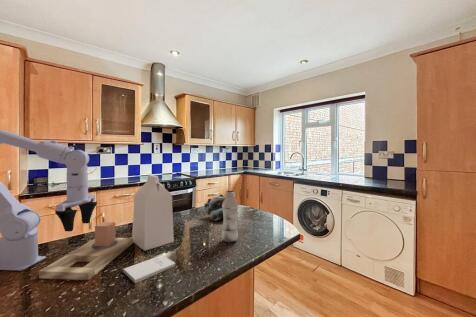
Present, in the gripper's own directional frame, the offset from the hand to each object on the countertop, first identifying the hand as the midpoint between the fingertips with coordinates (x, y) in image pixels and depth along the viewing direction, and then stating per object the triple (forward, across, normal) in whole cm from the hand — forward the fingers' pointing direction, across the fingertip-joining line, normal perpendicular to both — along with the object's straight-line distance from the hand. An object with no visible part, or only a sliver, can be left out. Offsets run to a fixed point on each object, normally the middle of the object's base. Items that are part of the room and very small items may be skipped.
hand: (77, 226), depth 74 cm
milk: (+10, +14, -20) cm, 26 cm away
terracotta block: (+8, +5, -6) cm, 11 cm away
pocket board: (+10, -1, -6) cm, 12 cm away
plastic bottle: (+10, +16, -50) cm, 53 cm away
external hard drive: (+11, -6, -27) cm, 30 cm away
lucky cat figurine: (+10, +44, -43) cm, 62 cm away
